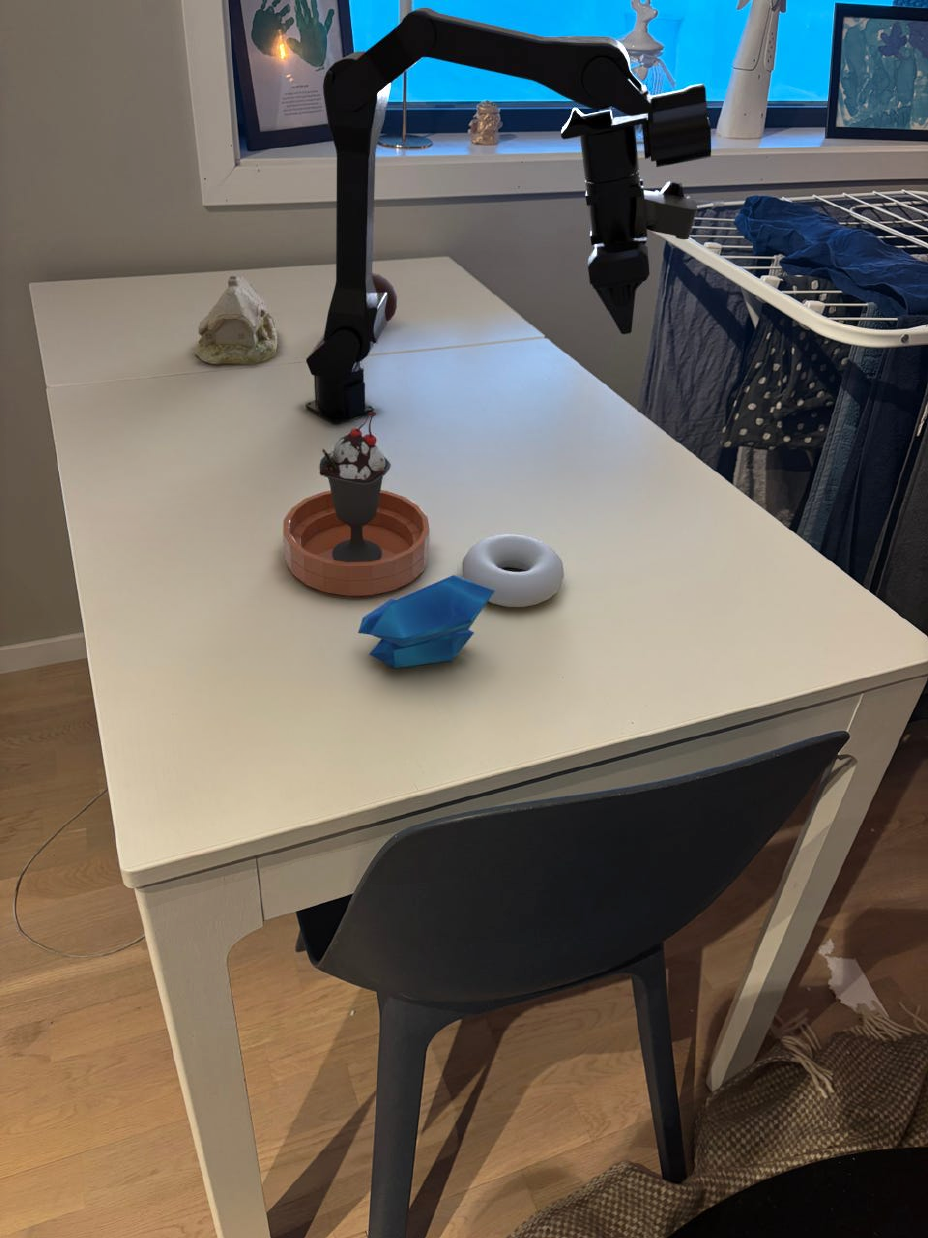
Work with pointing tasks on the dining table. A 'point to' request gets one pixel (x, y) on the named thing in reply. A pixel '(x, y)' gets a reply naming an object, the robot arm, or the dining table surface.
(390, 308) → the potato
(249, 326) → the ceramic model
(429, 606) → the crystal
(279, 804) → the dining table surface
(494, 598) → the donut
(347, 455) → the sundae
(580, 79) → the robot arm
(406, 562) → the bowl
